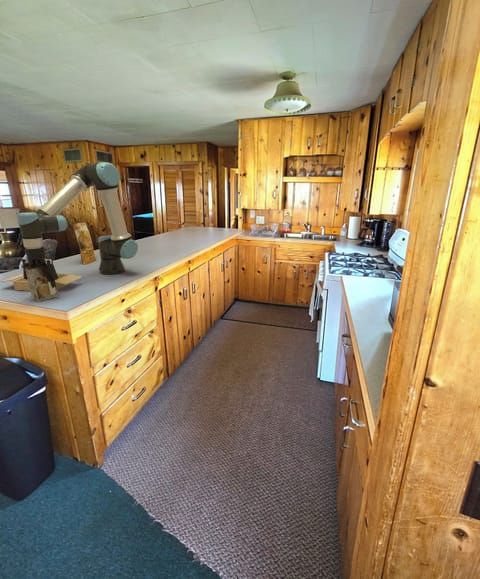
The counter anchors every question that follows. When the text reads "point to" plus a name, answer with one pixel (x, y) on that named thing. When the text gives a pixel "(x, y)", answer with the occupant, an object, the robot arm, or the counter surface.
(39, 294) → the coffee box
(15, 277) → the flap
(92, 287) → the counter surface
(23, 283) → the tan shallow open box
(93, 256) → the pancake mix bag
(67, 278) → the flap
